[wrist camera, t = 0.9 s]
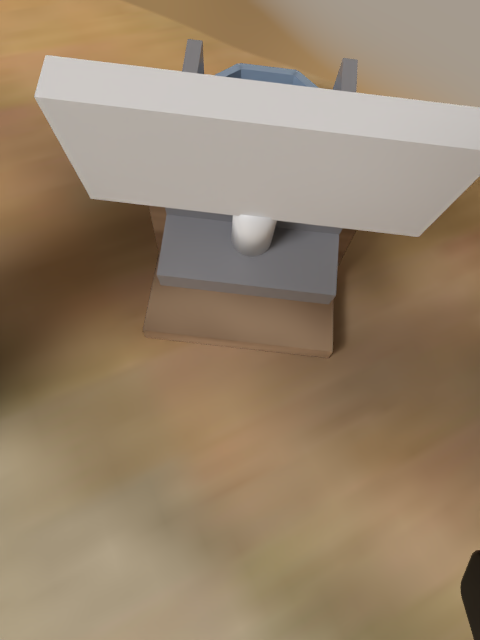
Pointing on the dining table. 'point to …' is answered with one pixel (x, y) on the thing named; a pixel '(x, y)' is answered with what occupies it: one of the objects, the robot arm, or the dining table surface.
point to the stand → (238, 314)
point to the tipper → (257, 166)
